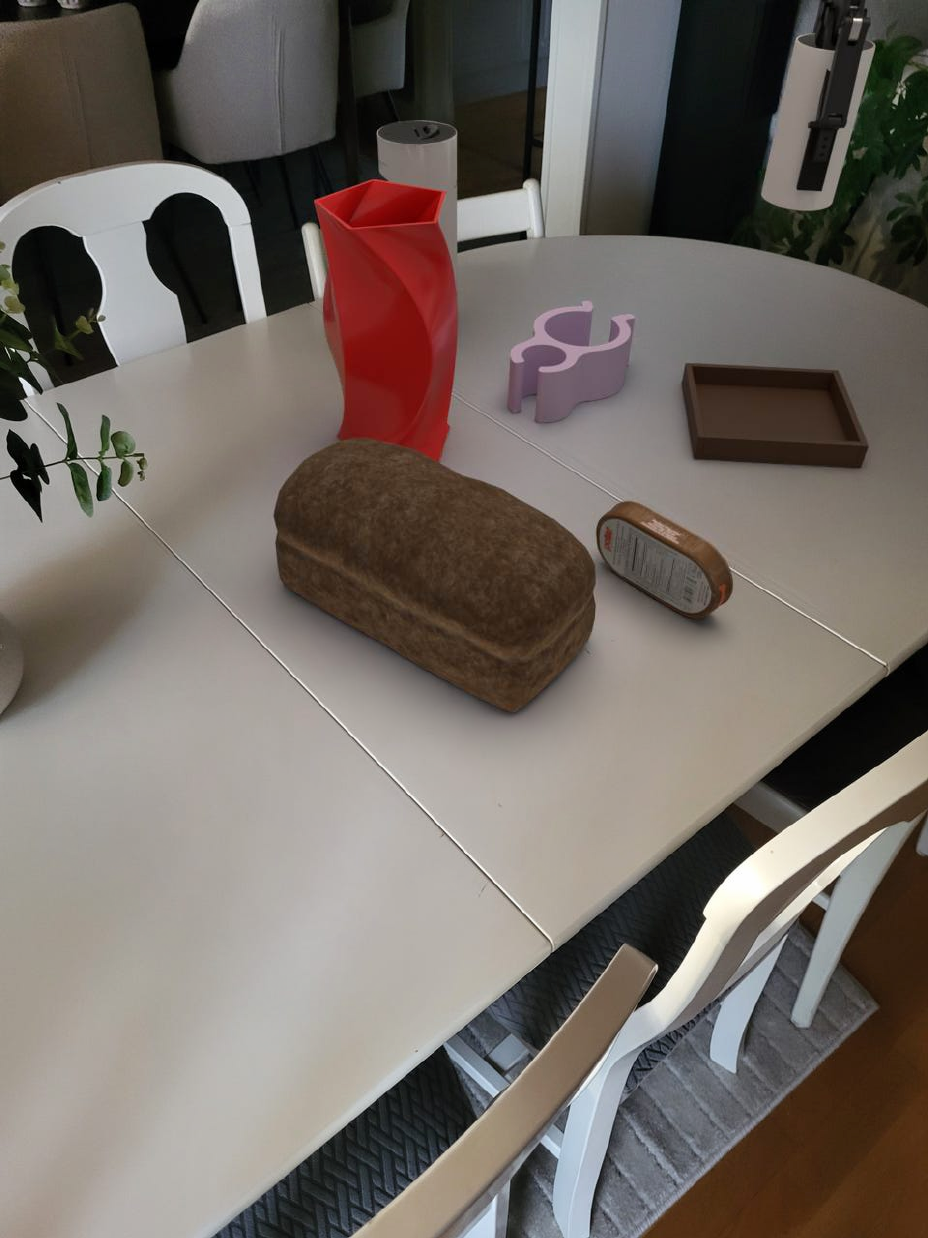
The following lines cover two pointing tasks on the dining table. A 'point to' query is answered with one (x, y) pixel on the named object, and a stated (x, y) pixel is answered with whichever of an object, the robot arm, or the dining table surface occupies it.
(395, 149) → the speaker
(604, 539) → the tin
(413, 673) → the dining table surface
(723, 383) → the tray
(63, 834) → the dining table surface
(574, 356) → the clip
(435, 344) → the vase
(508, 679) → the bread
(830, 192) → the cup
